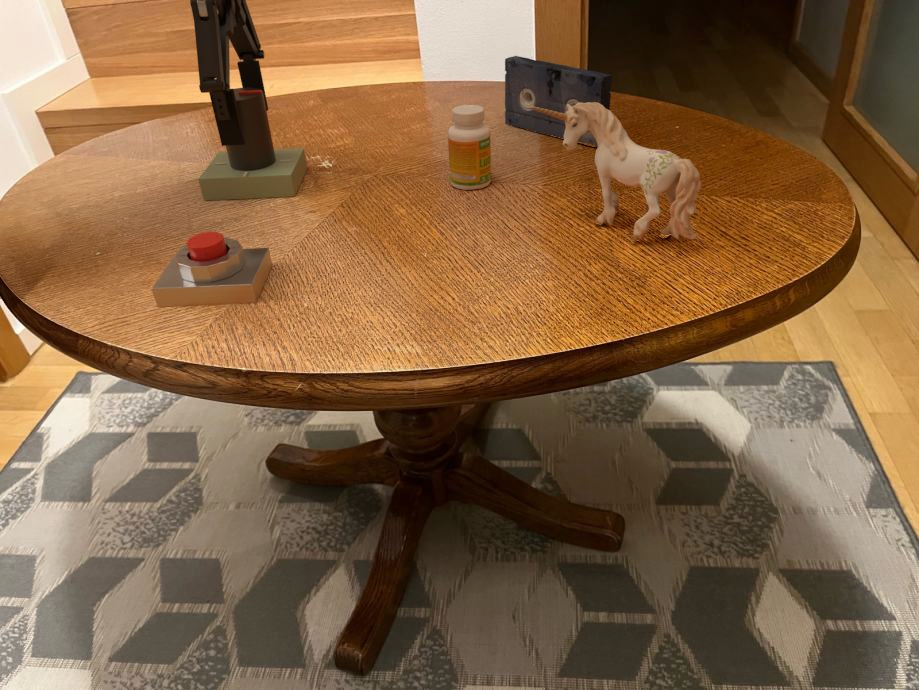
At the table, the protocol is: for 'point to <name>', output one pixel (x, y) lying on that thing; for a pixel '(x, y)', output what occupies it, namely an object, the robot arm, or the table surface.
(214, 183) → the dial panel
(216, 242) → the button
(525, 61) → the vhs cassette tape
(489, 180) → the supplement bottle
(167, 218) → the table surface
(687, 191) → the unicorn figurine
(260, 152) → the dial
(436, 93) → the table surface
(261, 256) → the button box
